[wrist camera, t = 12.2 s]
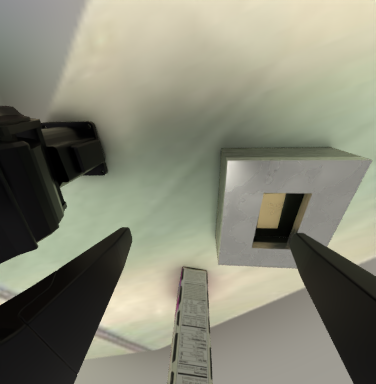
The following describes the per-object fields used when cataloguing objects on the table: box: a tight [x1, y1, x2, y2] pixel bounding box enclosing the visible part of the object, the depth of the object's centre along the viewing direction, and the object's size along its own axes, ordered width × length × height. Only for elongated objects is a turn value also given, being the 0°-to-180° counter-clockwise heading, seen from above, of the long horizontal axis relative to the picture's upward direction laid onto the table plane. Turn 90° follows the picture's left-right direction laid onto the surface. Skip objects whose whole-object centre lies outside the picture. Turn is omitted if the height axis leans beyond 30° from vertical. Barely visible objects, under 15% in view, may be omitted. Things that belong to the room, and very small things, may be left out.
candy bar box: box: [167, 267, 213, 384], centre depth 24 cm, size 11×5×16 cm, turn 173°
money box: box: [215, 147, 372, 268], centre depth 19 cm, size 12×14×5 cm
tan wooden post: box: [256, 193, 286, 228], centre depth 20 cm, size 2×5×3 cm, turn 4°
